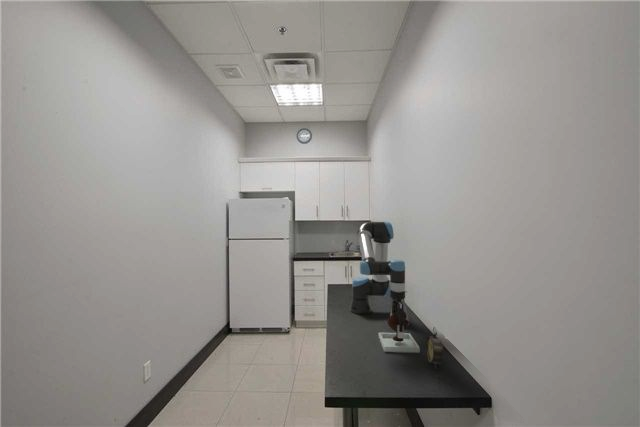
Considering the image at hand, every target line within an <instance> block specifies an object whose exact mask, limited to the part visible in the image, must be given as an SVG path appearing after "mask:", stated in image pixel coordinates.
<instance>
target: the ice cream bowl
mask: <svg viewBox="0 0 640 427" xmlns="http://www.w3.org/2000/svg"><path fill="white" fill-rule="evenodd" d="M406 317H407V315H406V313H405V312H404V322H405V325H403V332H405V330H407V328H408V327H409V325H410V320H409V321H408V320H406ZM386 322H387V326H389V328H390V329H392V330H393V331H394V332H395V333H396V336H394V337H393V340H394V341H398V342H401V341H403V340H404V339H403V338H398V325H397V324H398V318H397V311H396V312H395V313H393V314H392V315H391V316H390V315H389V317H388V318H387V319H386ZM401 323H402V322H401Z"/></svg>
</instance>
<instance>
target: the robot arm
mask: <svg viewBox="0 0 640 427" xmlns="http://www.w3.org/2000/svg"><path fill="white" fill-rule="evenodd" d="M393 228H394V227H393V225H392V223H391V222H389V221H367V222H364V223H363V224H361V225H360V226H359V228H358V229H357V230H356V239H357V240H358V243H359V248H360V256H361V260H362V261H360V262H359V272H360V273H359V274H361V275H364V276H359V277H355V278H354V279H353V280H352V285H351V286H352V290H351V291H352V294H351V295H352V296H351V297H352V300H351V301H350V302H351V303H350V306H349V311H350V312H351V313H354V314H356V315H357V314H358V315H366V314H368V315H369V313H372V306H371V303H370V299H369V297H388V296H390V298H391V299H392V300H391V301H392V302H391V309H392V312H391V311H390V313H392V314H393V313H395V312H396V311H397V318H398V324H397V325H398V338H403V333H404V331H403V325H405V322H404V310H403V306H404V305H403V304H402V302H401V300H402V299H404V300H405V298H406V292H405V291H406V263H405V261H404V260H402V259H392V260H388V252H389V251H388V250H389V244H390V243H391V242H392V241H391V240H394V229H393ZM372 242H374V243H375V244H374V245H375V248H373V244H372ZM374 249H375V250H374ZM368 276H372V277H371V279H370V278H369V277H368ZM388 276H389V277H390V278H389V277H388ZM401 322H402V323H401Z"/></svg>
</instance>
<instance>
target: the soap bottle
mask: <svg viewBox="0 0 640 427" xmlns="http://www.w3.org/2000/svg"><path fill="white" fill-rule="evenodd" d="M404 291H405V293H408V291H406V290H404ZM401 302H402V304H403V305H404V306H403V310H404V312H405V313H406V315H407V317H406V320H408V321H409V322H410V320H409V316H408V311H407V306H406V300H405V299H402V300H401ZM391 312H392V308H391V310H390V315H389V317H390V316H391V315H392V313H391Z"/></svg>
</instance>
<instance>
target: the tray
mask: <svg viewBox="0 0 640 427" xmlns="http://www.w3.org/2000/svg"><path fill="white" fill-rule="evenodd" d="M394 336H396V332H378V339H380V340H379V342H380V344H381V347H382V349H383V352H384V353H412V354H416V353H417V354H420V351H421V350H420V349H421V348H420V346H419V344H418V343H417V342H416V340H415V339H414V337H413V336H412V334H411V333H410V332H409V333H407V332H403V339H404V340H403V341H401V342H398V341H394V340H393V337H394Z"/></svg>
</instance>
